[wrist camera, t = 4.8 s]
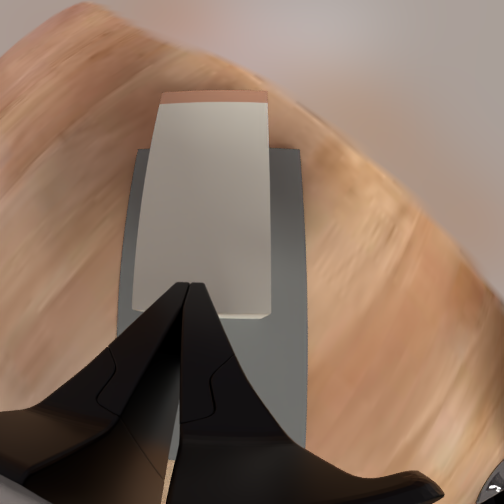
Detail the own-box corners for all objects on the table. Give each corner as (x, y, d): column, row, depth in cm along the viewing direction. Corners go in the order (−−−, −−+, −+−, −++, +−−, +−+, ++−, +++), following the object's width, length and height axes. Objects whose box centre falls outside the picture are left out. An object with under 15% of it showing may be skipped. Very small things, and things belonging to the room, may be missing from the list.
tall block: (271, 313, 11) (267, 91, 13) (131, 309, 10) (162, 92, 13) (260, 318, 16) (260, 147, 18) (163, 316, 15) (177, 146, 18)
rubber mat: (302, 456, 14) (304, 460, 14) (125, 448, 14) (121, 452, 13) (297, 154, 19) (299, 149, 18) (140, 154, 18) (138, 149, 18)
